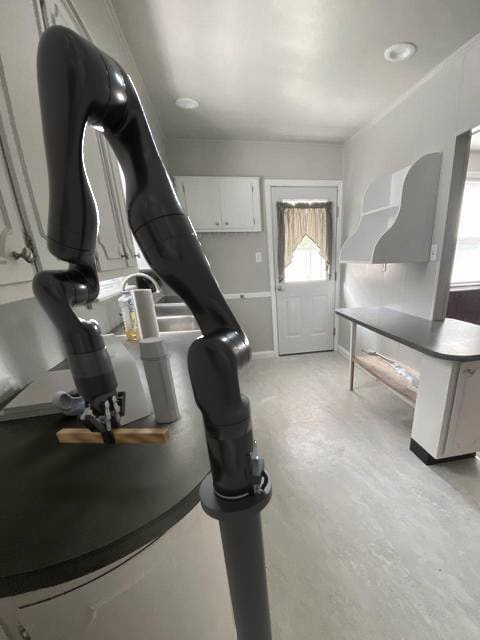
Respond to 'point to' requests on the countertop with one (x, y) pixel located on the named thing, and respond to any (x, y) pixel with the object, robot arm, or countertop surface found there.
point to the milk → (127, 380)
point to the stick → (119, 436)
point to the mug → (69, 402)
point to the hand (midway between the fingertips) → (114, 440)
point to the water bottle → (159, 379)
